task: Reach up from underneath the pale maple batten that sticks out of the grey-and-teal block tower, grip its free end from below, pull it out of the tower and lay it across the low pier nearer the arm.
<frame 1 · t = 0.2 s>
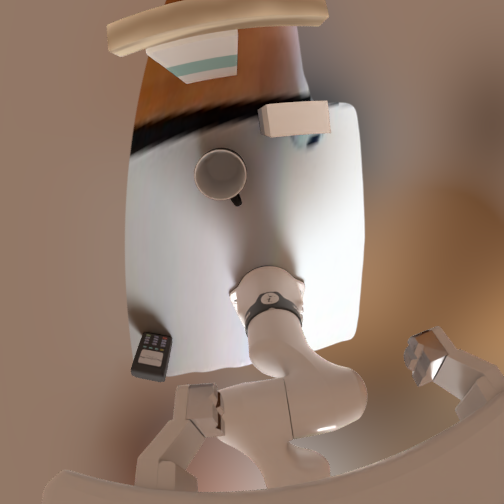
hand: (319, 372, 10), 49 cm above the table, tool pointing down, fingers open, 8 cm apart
card reader: (158, 336, 73), on the table
batten: (216, 19, 20), point 26 cm above the table, touching tower
tower: (209, 68, 43), on the table
pier: (281, 119, 49), on the table
mug: (226, 172, 54), on the table
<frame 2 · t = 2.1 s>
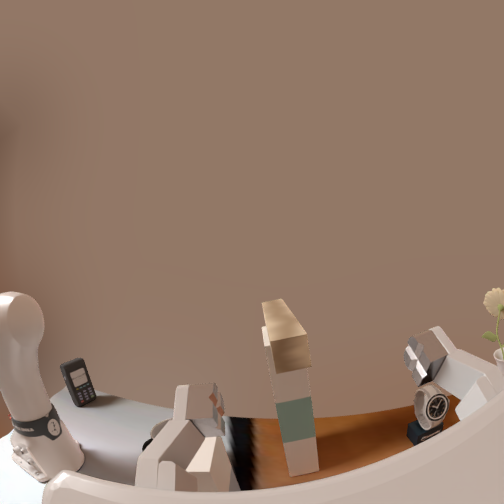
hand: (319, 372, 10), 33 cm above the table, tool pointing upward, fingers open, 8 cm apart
card reader: (86, 402, 65), on the table
batten: (282, 338, 35), point 26 cm above the table, touching tower
tower: (300, 457, 38), on the table
watch: (424, 436, 32), on the table
flower in vase: (489, 414, 27), on the table
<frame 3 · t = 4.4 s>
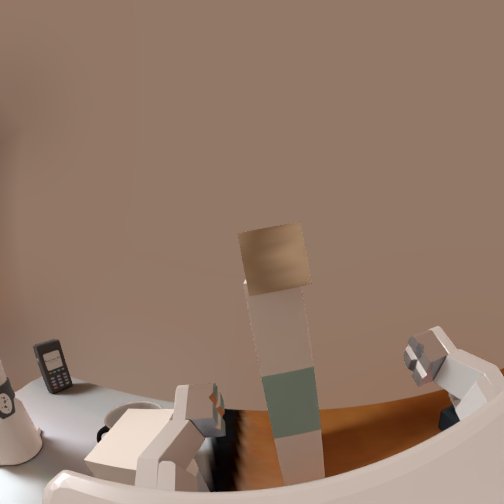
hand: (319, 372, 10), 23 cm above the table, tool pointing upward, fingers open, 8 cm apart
card reader: (61, 389, 56), on the table
batten: (270, 277, 26), point 26 cm above the table, touching tower
tower: (299, 459, 28), on the table
watch: (460, 427, 22), on the table
mug: (148, 467, 28), on the table
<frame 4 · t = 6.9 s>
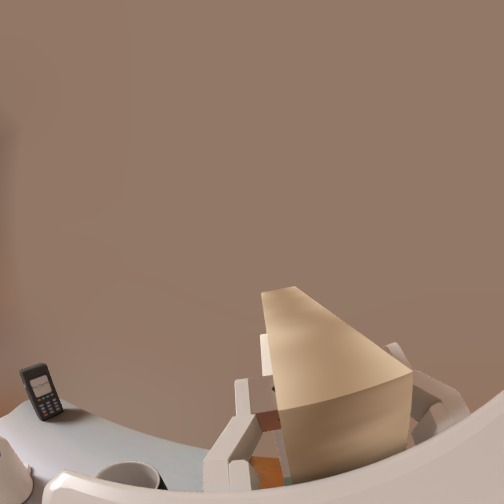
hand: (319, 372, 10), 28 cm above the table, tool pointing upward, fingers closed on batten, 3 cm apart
card reader: (51, 415, 47), on the table
batten: (300, 360, 16), point 26 cm above the table, touching gripper, tower
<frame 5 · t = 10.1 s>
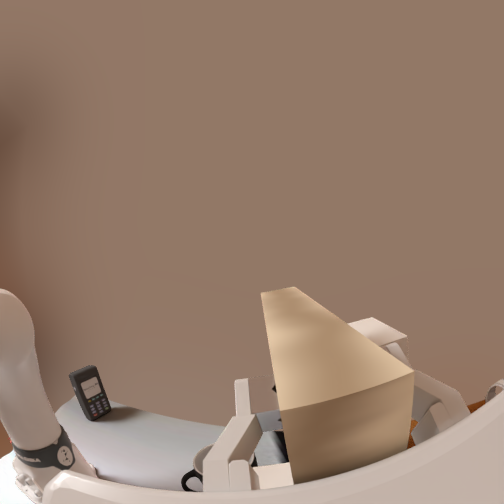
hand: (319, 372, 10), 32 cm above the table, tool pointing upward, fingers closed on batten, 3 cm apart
card reader: (99, 415, 58), on the table
batten: (300, 360, 16), point 30 cm above the table, touching gripper
tower: (369, 473, 28), on the table
watch: (492, 434, 21), on the table
mug: (229, 499, 29), on the table
when the fingers open (19 cm above the table, at t = 13.3 s): batten stays where it is, resting on pier.
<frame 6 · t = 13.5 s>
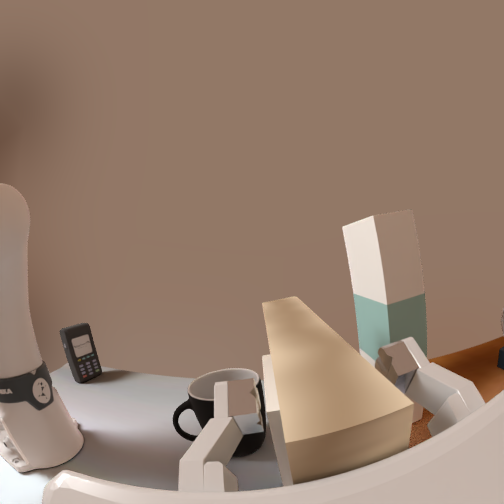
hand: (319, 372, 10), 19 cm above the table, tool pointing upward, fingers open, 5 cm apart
card reader: (89, 378, 57), on the table
batten: (302, 374, 16), point 16 cm above the table, touching pier
tower: (390, 408, 29), on the table
pier: (316, 501, 16), on the table
mug: (229, 447, 29), on the table
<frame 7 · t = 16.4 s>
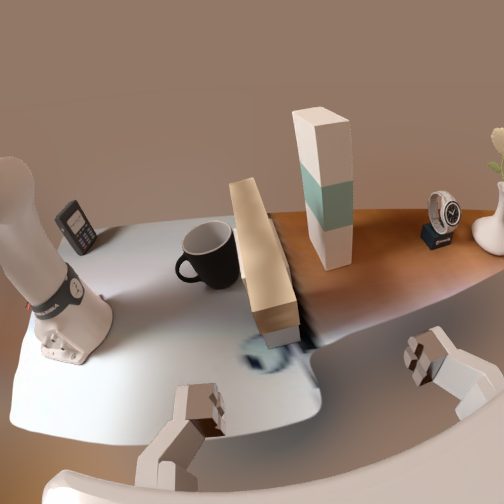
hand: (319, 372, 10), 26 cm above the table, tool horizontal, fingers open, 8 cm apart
card reader: (88, 246, 74), on the table
batten: (259, 248, 31), point 16 cm above the table, touching pier
tower: (329, 249, 51), on the table
watch: (435, 241, 46), on the table
pier: (278, 321, 42), on the table
mug: (216, 280, 52), on the table
flower in vase: (487, 240, 42), on the table
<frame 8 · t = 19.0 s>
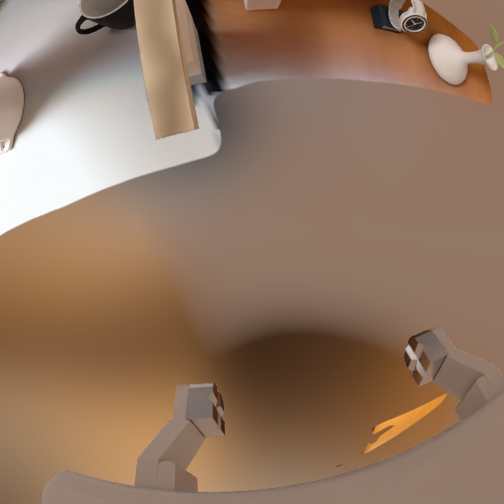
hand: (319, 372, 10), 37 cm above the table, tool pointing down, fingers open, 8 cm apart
batten: (164, 35, 19), point 16 cm above the table, touching pier
watch: (384, 21, 29), on the table
pier: (186, 60, 33), on the table
mug: (122, 18, 27), on the table
flower in vase: (442, 56, 32), on the table
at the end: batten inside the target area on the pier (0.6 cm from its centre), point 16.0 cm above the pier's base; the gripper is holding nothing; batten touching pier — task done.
